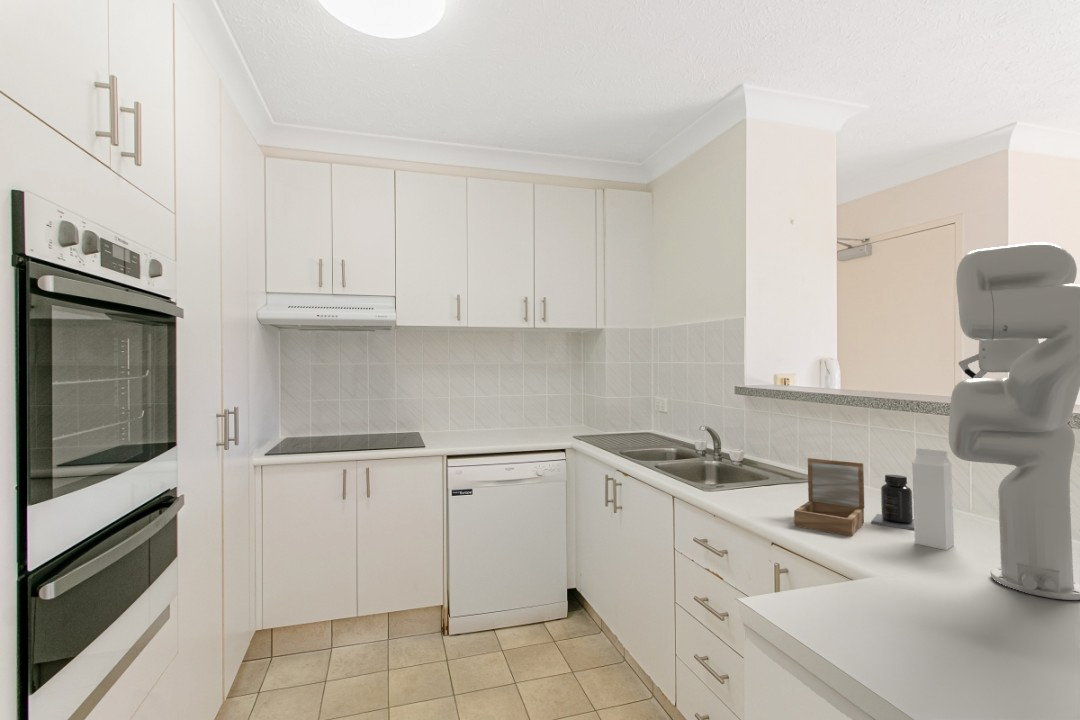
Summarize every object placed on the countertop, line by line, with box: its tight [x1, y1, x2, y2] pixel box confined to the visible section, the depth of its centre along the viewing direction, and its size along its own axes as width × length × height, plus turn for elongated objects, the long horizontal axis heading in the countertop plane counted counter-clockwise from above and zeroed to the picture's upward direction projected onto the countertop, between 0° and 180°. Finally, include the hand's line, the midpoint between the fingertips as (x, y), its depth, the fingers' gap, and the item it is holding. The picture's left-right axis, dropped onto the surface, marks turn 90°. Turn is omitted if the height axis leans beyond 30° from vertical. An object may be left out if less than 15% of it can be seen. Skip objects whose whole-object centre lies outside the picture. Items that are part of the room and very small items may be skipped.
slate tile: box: [870, 513, 914, 531], centre depth 134 cm, size 10×10×1 cm
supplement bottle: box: [880, 474, 914, 524], centre depth 134 cm, size 7×7×12 cm
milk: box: [911, 448, 955, 551], centre depth 117 cm, size 6×6×22 cm
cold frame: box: [793, 457, 865, 537], centre depth 133 cm, size 16×13×16 cm
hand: (1010, 398), depth 111 cm, fingers open, 9 cm apart
